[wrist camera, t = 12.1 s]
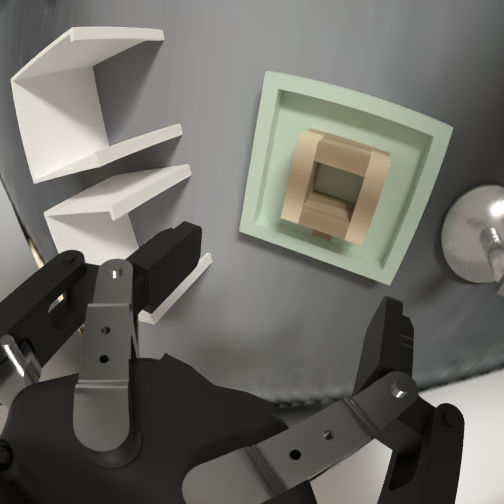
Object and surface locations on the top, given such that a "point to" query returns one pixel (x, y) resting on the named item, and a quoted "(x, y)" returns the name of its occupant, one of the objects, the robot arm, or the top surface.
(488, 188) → the grey round stand
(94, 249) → the storage container
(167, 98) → the top surface
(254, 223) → the tray
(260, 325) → the top surface
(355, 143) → the brown wooden frame
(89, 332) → the robot arm
